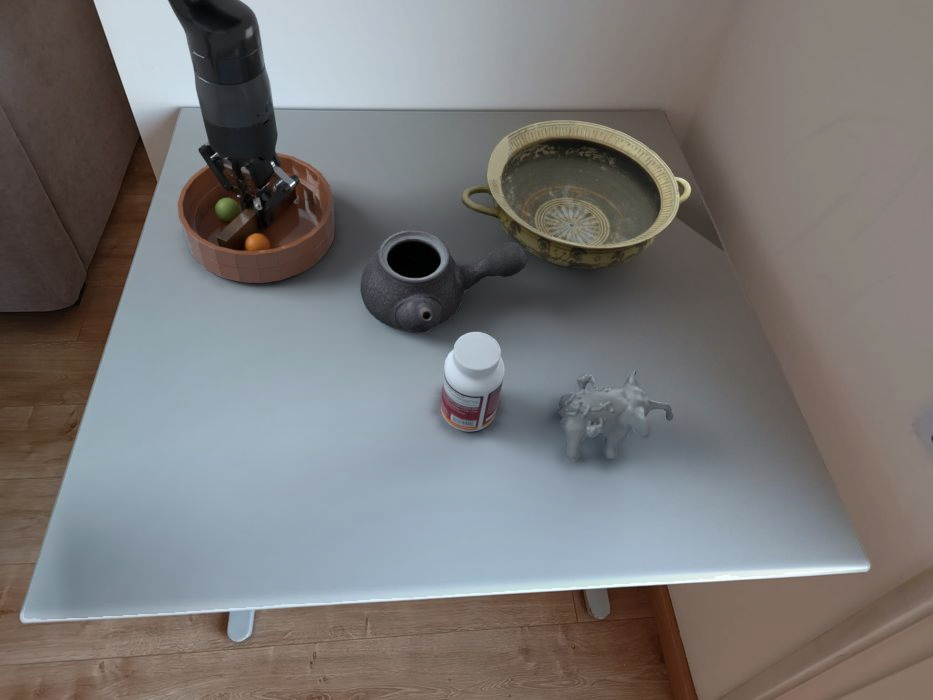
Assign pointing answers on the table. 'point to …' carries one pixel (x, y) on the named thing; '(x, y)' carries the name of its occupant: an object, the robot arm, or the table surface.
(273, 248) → the bowl
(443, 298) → the teapot
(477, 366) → the pill bottle
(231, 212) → the ball olive
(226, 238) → the stick
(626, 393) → the gray elephant figurine
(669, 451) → the table surface
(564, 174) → the ceramic bowl
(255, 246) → the ball orange
